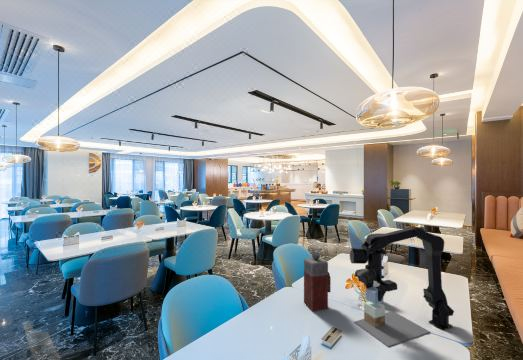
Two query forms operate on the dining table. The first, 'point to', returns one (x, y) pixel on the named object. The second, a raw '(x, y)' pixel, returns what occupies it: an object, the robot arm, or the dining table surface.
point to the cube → (372, 295)
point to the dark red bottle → (316, 282)
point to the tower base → (374, 320)
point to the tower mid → (374, 309)
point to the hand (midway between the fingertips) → (374, 298)
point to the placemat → (393, 329)
